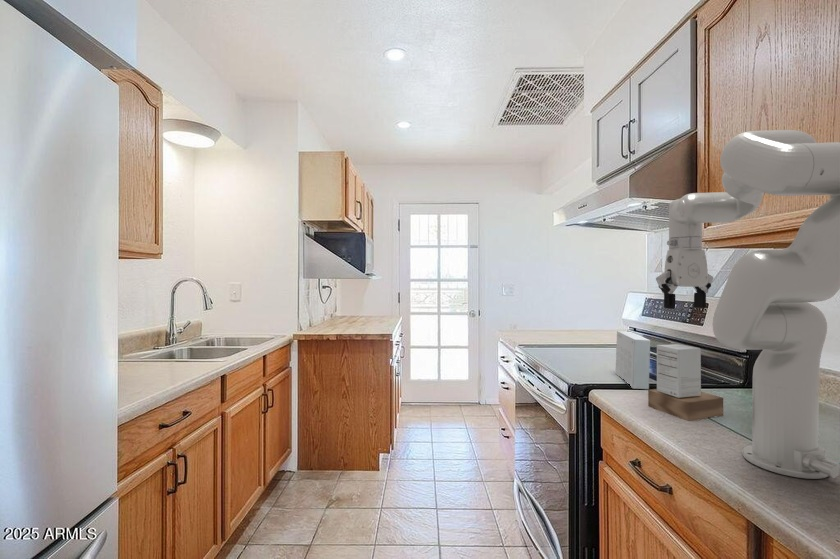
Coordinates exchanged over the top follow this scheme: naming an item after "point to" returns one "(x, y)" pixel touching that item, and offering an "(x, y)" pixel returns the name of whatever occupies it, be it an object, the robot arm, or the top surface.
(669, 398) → the walnut block
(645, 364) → the skincare box
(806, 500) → the top surface
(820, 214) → the robot arm
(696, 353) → the supplement box
